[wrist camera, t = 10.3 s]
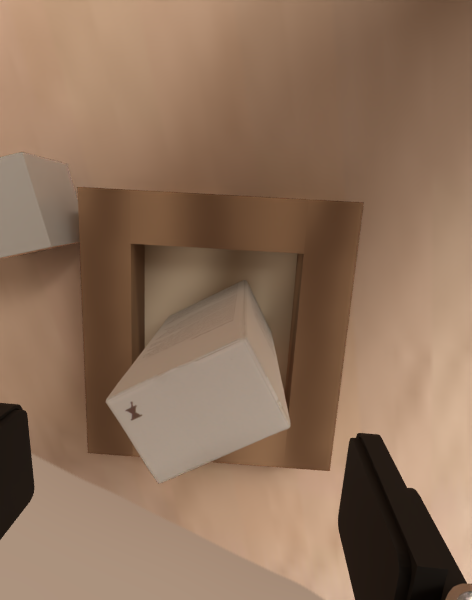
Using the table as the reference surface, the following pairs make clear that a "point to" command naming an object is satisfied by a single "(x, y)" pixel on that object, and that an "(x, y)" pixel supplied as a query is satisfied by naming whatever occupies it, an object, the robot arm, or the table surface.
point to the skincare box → (203, 385)
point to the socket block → (210, 280)
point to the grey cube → (36, 205)
